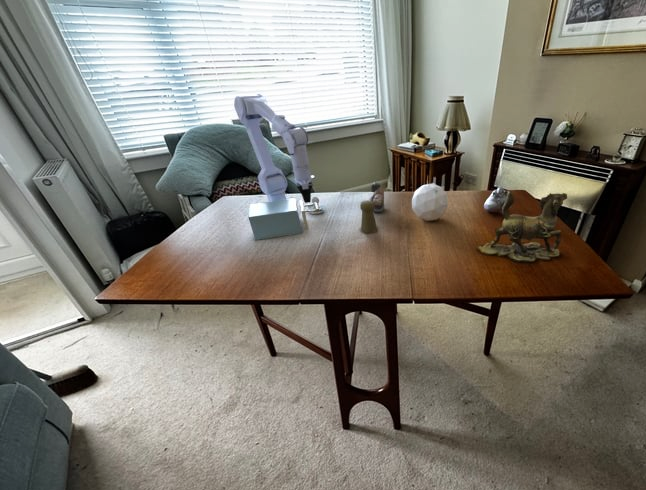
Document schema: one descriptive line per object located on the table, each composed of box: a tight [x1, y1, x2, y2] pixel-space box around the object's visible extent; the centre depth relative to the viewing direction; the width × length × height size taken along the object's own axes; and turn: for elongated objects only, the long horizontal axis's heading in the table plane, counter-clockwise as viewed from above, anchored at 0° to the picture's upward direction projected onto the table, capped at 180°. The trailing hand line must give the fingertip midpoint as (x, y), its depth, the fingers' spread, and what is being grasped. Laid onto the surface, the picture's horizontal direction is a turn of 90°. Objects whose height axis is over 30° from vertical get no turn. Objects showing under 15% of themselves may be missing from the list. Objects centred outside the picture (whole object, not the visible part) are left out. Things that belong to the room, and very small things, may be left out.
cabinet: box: [247, 198, 302, 241], centre depth 115 cm, size 17×13×9 cm
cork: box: [359, 199, 378, 234], centre depth 112 cm, size 6×6×11 cm
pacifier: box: [307, 196, 326, 215], centre depth 129 cm, size 7×6×6 cm
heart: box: [483, 186, 510, 213], centre depth 120 cm, size 10×10×12 cm
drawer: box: [296, 199, 320, 230], centre depth 117 cm, size 21×11×7 cm, turn 107°
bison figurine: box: [369, 181, 385, 213], centre depth 128 cm, size 12×7×10 cm, turn 0°
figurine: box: [477, 190, 568, 264], centre depth 92 cm, size 13×25×20 cm, turn 79°
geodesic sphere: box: [411, 183, 449, 222], centre depth 117 cm, size 15×14×14 cm
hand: (307, 202), depth 115 cm, fingers closed
